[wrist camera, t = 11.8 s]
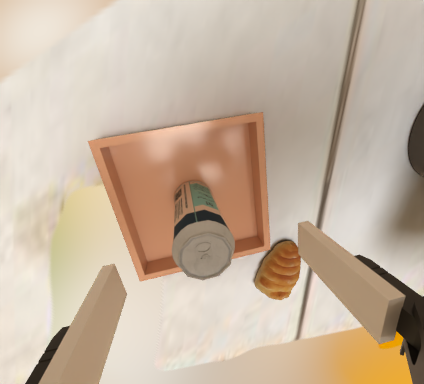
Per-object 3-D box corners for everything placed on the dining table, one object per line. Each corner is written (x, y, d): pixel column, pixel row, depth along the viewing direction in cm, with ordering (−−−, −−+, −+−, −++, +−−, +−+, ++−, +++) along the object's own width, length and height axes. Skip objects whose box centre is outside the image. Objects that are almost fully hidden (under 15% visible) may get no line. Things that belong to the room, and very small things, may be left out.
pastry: (267, 235, 30) (279, 250, 27) (303, 240, 32) (320, 254, 29) (250, 283, 33) (259, 302, 30) (284, 285, 35) (297, 303, 31)
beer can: (179, 218, 26) (180, 291, 14) (169, 184, 24) (162, 237, 13) (214, 209, 26) (242, 274, 15) (207, 175, 24) (233, 220, 13)
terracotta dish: (251, 113, 24) (262, 112, 20) (260, 235, 30) (270, 249, 27) (101, 138, 22) (87, 141, 19) (144, 263, 28) (140, 281, 25)
